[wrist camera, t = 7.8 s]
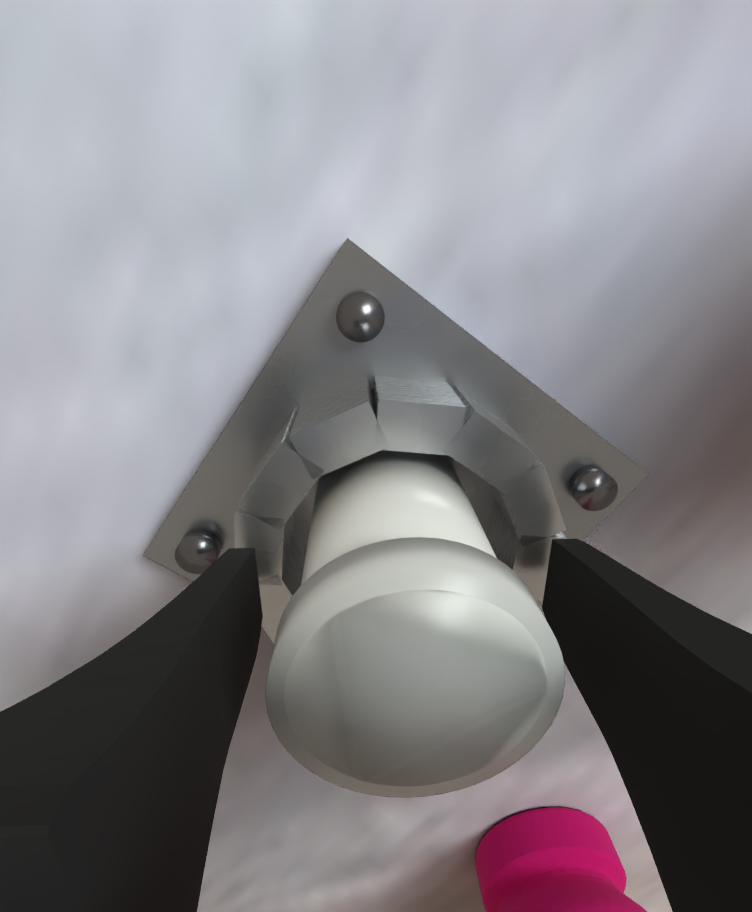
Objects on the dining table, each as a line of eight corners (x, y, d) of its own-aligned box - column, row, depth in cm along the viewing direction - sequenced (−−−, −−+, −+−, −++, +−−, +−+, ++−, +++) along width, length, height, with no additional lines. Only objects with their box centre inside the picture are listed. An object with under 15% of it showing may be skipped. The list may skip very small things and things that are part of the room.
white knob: (490, 438, 14) (607, 593, 8) (450, 581, 16) (517, 806, 9) (316, 411, 13) (281, 553, 7) (295, 563, 15) (253, 786, 9)
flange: (634, 463, 15) (701, 512, 12) (421, 683, 18) (433, 764, 15) (347, 239, 13) (346, 233, 10) (153, 541, 16) (105, 606, 13)
